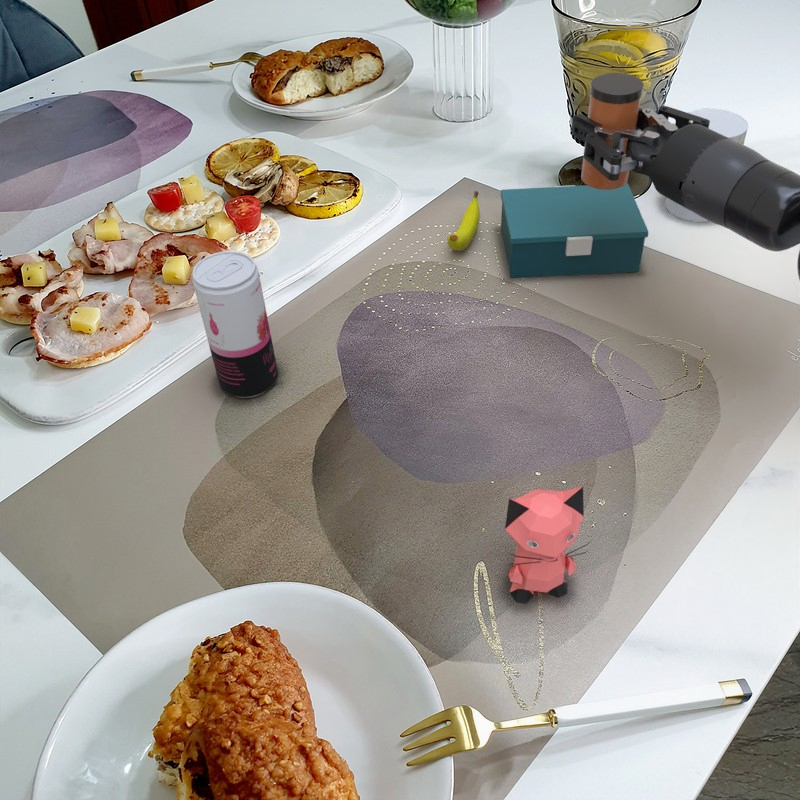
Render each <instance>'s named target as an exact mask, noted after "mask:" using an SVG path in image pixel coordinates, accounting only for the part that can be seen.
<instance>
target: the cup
mask: <svg viewBox="0 0 800 800" xmlns="http://www.w3.org/2000/svg"><path fill="white" fill-rule="evenodd" d="M687 113H690V114H693V115H696V116H699V117H702V118H705V119H708V120H709V121H710V124H709V129H711V130H713V131H715V132H717V133H719V134H721V135H724V136H726V137H728V138H730V139H732V140H734V141H736V142H738V143H740V144H742V145H744V144H745V141H746V136H747V132H748V129H749V123H748V121H747V120H746V119H745V118H744V117H743V116H742V115H739V114H738V113H735V112H734V111H730V110H726V109H721V108H709V107H708V108H698V109H694V110H691V111H687ZM664 206H665V209H666V210H667V211H668V212H669V213H670V214H671V215H673V216H674V217H676V218H678V219H681V220H684V221H687V222H693V223H694V222H695V223H710V221H708V220H706V219H704V218H702V217H701V216H699V215H697V214H695V213H694V212H692V211H690V210H688V209H686V208H685V207H683V206H681V205H679V204H677V203H676V202H674V201H672V200H670V199H669V198H667V197H665V201H664Z"/></svg>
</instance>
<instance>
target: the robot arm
mask: <svg viewBox="0 0 800 800" xmlns="http://www.w3.org/2000/svg"><path fill="white" fill-rule="evenodd" d="M669 118H671V119H674V120H675V123H671V121H669ZM571 122H572V125H571V134H572V136H574V137H575V138H577V139H579V140H581V141H583V142H584V147H585V152H584V151H583V156H584V159H586V160H587V161H588V162H589V163H590V164H591V165H592V166H594V167H595V168H596V169H597V170H598V171H599V172H600V173H602V174H603V175H604V176H605V177H606V178H607V179H609V180H612V181H616V180H618V179H619V175H620V172H623V171H627V170H629V171H632V172H633V173H635V174H639V175H644V176H647V177H648V178H649V179H650V181H651V183H652V185H653V187H654V189H655V191H657V192H658V193H659V194H660V195H661V196H663V197H665V198H666V197H667V198H669V199H670V200H672V201H674V202H676V203H677V204H679V205H681V206H683V207H685V208H686V209H688V210H690V211H692V212H694V213H695V214H697V215H699V216H701V217H702V218H704V219H706V220H708V221H709V223H713V224H715V225H717V226H721V227H723V228H725V229H727V230H730V231H732V232H733V233H735V234H736V235H739V236H740V237H742V238H744V239H746V240H747V241H749V242H751V243H753V244H755V245H756V246H758V247H760V248H762V249H765V250H767V251H770V252H776V253H777V252H784V251H786V250H790V249H791V248H794V247H796V246H798V245H800V174H799V173H797V172H794V171H792V170H791V169H788V168H786V167H784V166H782V165H780V164H778V163H776V162H774V161H771V160H770V159H768V158H767V157H765V156H764V155H762V154H761V153H759V152H757V151H756V150H754V149H752V148H750V147H749V146H747V145H742V144H740V143H738V142H736V141H734V140H732V139H730V138H728V137H726V136H724V135H721V134H719V133H717V132H715V131H713V130H711V129H709V124H710V121H709V120H708V119H705V118H702V117H699V116H696V115H693V114H690V113H688V112H686V111H683V110H681V109H678V108H674V107H671V106H667V105H660V106H658V110H654V109H652V108H649V107H646V108H645V107H644V108H643V109H642V108H640V107H639V112H638V118H637V125H636V130H634V129H630V128H626V127H620V128H619V129H618V130H615V129H611V128H607V127H603V126H602V125H601V124H599V123H597V122H595V121H593V120H592V119H590V118H588V116H586V115H584V114H582V113H578V114H576V115H575V114H574V115H573V117H572V121H571ZM606 137H607V138H611V139H612V140H613V146H610V145H609V144H608V143H607V142H605V138H606ZM625 138H627V139H628V140H627V145H626V154H625V153H624V152H623V145H624V139H625ZM585 142H586V143H585ZM796 266H797V267H796V268H797V276H798V279H799V280H798V281H800V250H799V251H798V256H797V265H796Z"/></svg>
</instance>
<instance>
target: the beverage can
mask: <svg viewBox="0 0 800 800" xmlns="http://www.w3.org/2000/svg"><path fill="white" fill-rule="evenodd" d="M260 277H261V276H260V271H259V267H258V265H257V264H256V262H255V260H254V258H253V257H251V255H249V254H247V253H245V252H242V251H237V250H226V251H219V252H214V253H212V254H209V255H207V256H205V257H203V258H202V259H200V260H199V261H198V262H197V263H196V264H195V266H194V267H193V269H192V285H193V289H194V291H195V297H196V300H197V304H198V309H199V312H200V315H201V316H200V317H201V318H202V324H203V327H204V331H205V335H206V339H207V343H208V346H209V350H210V355H211V358H212V361H213V366H214V369H215V373H216V378H217V380H218V381H217V382H218V385H219V387H220V389H221V390H222V391H223V392H224V393H226V394H227V395H229V396H231V397H236V398H240V399H249V398H255V397H258V396H259V395H263V394H265V393H266V392H267V391H269V390H270V389H272V387H273V386H274V385H275V384H276V382H277V380H278V377H279V371H278V366H277V365H278V364H277V360H276V355H275V349H274V344H273V339H272V334H271V329H270V323H269V319H268V313H267V307H266V303H265V298H264V292H263V288H262V282H261V278H260Z"/></svg>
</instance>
